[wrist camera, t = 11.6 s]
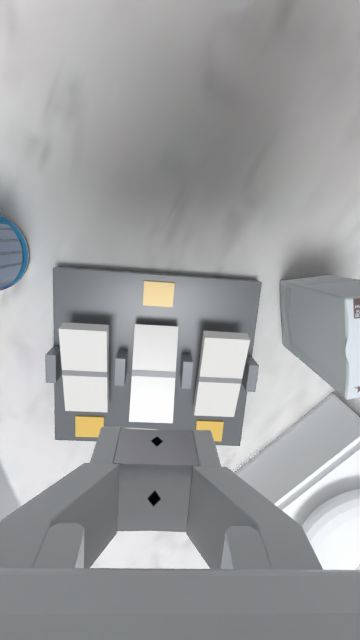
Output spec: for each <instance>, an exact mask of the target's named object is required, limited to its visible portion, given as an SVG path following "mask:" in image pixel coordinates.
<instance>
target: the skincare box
mask: <svg viewBox="0 0 360 640" xmlns="http://www.w3.org/2000/svg"><path fill="white" fill-rule="evenodd" d="M280 295H281V315H282V329H283V345H284V346H285V347H286V348H287V349H288V350H289V351H290V352H292V353H293V354H294V355H295V356H296V357H298V358H299V359H300V360H301V361H302V362H304V363H305V364H306V365H307V366H308V367H309V368H310V369H312V370H313V371H314V372H315V373H316V374H318V375H319V376H320V377H321V378H322V379H323V380H325V381H326V382H327V383H328V384H329V385H330V386H332V387H333V388H334V389H335V390H336V391H337V392H339V393H340V394H341V395H342V396H343V397H344V398H345V399H346V400H349V399H354V398H360V280H357V279H351V278H345V277H338V276H332V275H323V276H314V277H306V278H298V279H290V280H282V281H280Z"/></svg>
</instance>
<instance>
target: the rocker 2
mask: <svg viewBox="0 0 360 640" xmlns="http://www.w3.org/2000/svg"><path fill="white" fill-rule="evenodd" d="M177 343H178V327H177V326H160V325H143V324H135V330H134V346H133V363H132V379H131V395H130V412H129V422H151V423H173V410H174V393H175V377H176V360H177Z"/></svg>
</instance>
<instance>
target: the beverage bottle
mask: <svg viewBox="0 0 360 640" xmlns="http://www.w3.org/2000/svg"><path fill="white" fill-rule="evenodd" d="M28 260H29V252H28V246H27V243H26V240H25V238H24V236H23V234H22V233H21V231H20V230H19V229H18V228H17V227H16V226H15V225H14V224H13V223H12V222H11V221H10V220H8V219H7V218H5V217H3V216H1V215H0V290H3V289H6V288H9V287H11V286H12V285H14V284H15V283H17V282H18V281H19V280H20V279H21V277H22V276H23V275H24V273H25V271H26V268H27V265H28Z"/></svg>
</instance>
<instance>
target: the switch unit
mask: <svg viewBox="0 0 360 640" xmlns="http://www.w3.org/2000/svg"><path fill="white" fill-rule="evenodd" d="M261 283H262V282H260V281H257V280H248V279H234V278H220V277H205V276H191V275H177V274H163V273H149V272H135V271H121V270H106V269H92V268H78V267H64V266H57V267H54V268H53V309H54V347H53V348H52V349H51V350H50V351H49V352H48V353H47V354H46V355H45V363H46V382H47V383H54V392H55V440H76V441H97V439H98V436H99V433H100V429H101V428H102V427H103V426H109V427H129V428H146V429H157V430H210V431H211V432H212V435H213V439H214V442H215V445H230V446H240V441H241V434H242V426H243V418H244V411H245V403H246V396H247V391H248V392H255V390H256V383H257V375H258V368H259V365H258V364H257V363H256V361H255V360H254V359H253V358H252V351H253V343H254V336H255V328H256V321H257V313H258V306H259V298H260V291H261ZM62 322H68V323H85V324H102V325H109V408H108V412H83V411H65V401H64V389H63V377H62V365H61V353H60V341H59V327H60V326H61V324H62ZM135 324H143V325H160V326H177V327H178V343H177V360H176V377H175V393H174V410H173V423H151V422H129V412H130V395H131V379H132V363H133V346H134V330H135ZM203 331H218V332H236V333H247V334H248V336H249V338H250V344H249V348H248V353H247V358H246V363H245V367H244V372H243V377H242V382H241V386H240V391H239V396H238V400H237V405H236V410H235V414H234V417H221V416H195V415H194V410H193V405H194V397H195V390H196V383H197V375H198V368H199V361H200V353H201V346H202V339H203Z"/></svg>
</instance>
